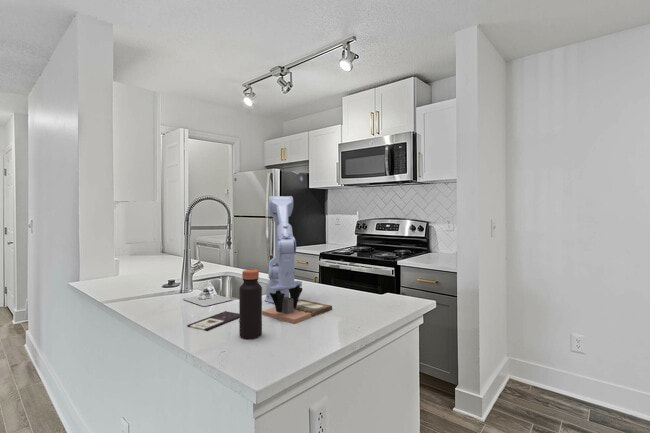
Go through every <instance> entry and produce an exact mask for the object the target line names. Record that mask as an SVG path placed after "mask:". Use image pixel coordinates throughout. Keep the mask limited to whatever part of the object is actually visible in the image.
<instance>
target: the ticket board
mask: <svg viewBox="0 0 650 433" xmlns="http://www.w3.org/2000/svg"><path fill="white" fill-rule="evenodd" d="M293 309H296V310H301V311H304V312H308V313H311V318H313V317H316V316H319V315H322V314H324V313H327V312H330V311H332V310H333V305H330V304H326V303H321V302H316V301H312V300H308V299H304V298H303V299H301V298H299V299H298V302H297V306H296V308H294V307H293Z"/></svg>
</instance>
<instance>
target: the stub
mask: <svg viewBox="0 0 650 433" xmlns="http://www.w3.org/2000/svg"><path fill="white" fill-rule="evenodd" d="M262 316H264V317H268V318H272V319H276V320H280V321H283V322H286V323H290V324H293V325H296V324H298V323H300V322H302V321H303V322H304V321H305V320H308V319H310V318H312V317H311V313H308V312H304V311H301V310H296V309H293V298H290V296H289V297H284V298H283V304H282V312H276V308H275V306H273V307H270V308H267V309H264V310H262Z"/></svg>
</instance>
